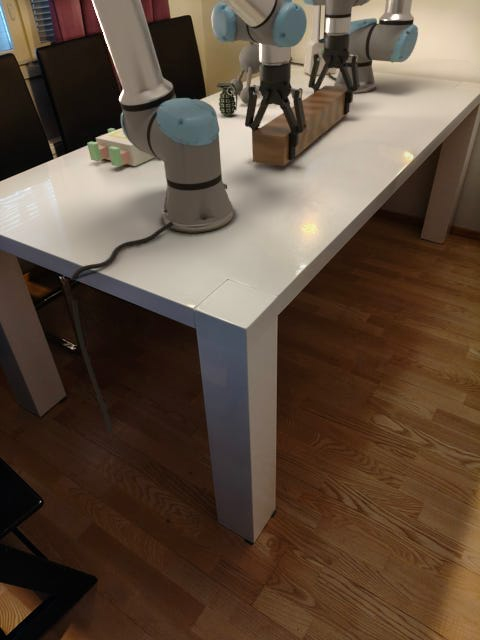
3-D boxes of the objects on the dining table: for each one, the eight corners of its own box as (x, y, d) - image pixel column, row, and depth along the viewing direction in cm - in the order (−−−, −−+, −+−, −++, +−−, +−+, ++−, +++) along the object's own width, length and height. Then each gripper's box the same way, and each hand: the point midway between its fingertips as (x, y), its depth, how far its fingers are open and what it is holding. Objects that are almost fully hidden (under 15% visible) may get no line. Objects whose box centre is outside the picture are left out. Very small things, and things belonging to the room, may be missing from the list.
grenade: (217, 117, 168) (214, 86, 162) (221, 112, 172) (219, 82, 166) (235, 117, 166) (233, 86, 160) (239, 113, 171) (238, 82, 165)
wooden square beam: (283, 166, 125) (283, 136, 121) (252, 161, 129) (251, 133, 124) (349, 111, 162) (351, 87, 157) (323, 109, 165) (325, 85, 161)
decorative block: (141, 114, 152) (190, 122, 142) (145, 135, 156) (192, 145, 146) (76, 138, 136) (126, 149, 126) (82, 160, 140) (130, 173, 130)
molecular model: (298, 98, 182) (300, 3, 164) (243, 107, 176) (239, 9, 158) (272, 86, 199) (271, -1, 181) (221, 93, 194) (215, 4, 175)
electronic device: (309, 76, 211) (312, -7, 192) (303, 73, 216) (305, -8, 198) (336, 73, 213) (341, -10, 194) (329, 70, 219) (333, -11, 200)
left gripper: (323, 61, 114) (318, 156, 128) (242, 57, 123) (245, 147, 137) (311, 67, 109) (307, 166, 123) (227, 63, 118) (232, 155, 132)
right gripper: (376, 32, 144) (367, 111, 158) (308, 30, 153) (305, 106, 167) (369, 36, 139) (360, 118, 153) (298, 34, 148) (296, 112, 162)
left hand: (275, 156), depth 130 cm, fingers closed on wooden square beam, 9 cm apart
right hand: (332, 112), depth 160 cm, fingers closed on wooden square beam, 9 cm apart
